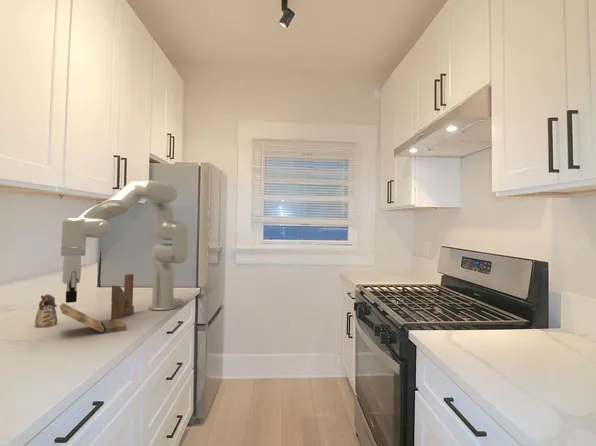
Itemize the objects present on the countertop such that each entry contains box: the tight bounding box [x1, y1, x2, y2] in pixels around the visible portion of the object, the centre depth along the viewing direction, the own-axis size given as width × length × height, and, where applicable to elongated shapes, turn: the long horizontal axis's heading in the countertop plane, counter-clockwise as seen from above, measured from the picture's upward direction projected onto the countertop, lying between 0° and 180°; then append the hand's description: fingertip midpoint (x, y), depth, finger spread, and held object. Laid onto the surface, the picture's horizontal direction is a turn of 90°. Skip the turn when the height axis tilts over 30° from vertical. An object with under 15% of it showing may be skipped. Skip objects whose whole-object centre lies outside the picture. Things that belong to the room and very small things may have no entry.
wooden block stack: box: [110, 273, 135, 320], centre depth 152 cm, size 4×11×18 cm, turn 172°
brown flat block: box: [99, 318, 127, 334], centre depth 135 cm, size 7×12×2 cm, turn 38°
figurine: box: [34, 293, 58, 328], centre depth 136 cm, size 7×7×12 cm
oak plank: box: [59, 302, 104, 333], centre depth 129 cm, size 15×12×2 cm
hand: (71, 301), depth 126 cm, fingers closed
